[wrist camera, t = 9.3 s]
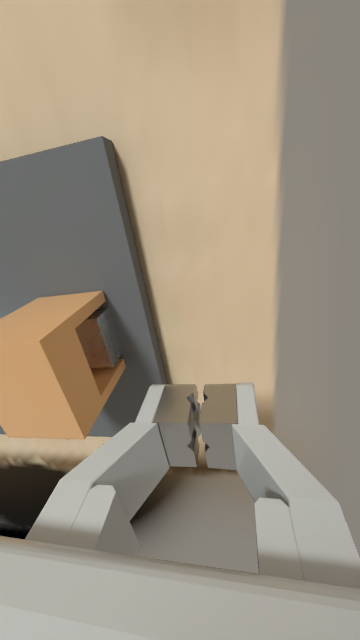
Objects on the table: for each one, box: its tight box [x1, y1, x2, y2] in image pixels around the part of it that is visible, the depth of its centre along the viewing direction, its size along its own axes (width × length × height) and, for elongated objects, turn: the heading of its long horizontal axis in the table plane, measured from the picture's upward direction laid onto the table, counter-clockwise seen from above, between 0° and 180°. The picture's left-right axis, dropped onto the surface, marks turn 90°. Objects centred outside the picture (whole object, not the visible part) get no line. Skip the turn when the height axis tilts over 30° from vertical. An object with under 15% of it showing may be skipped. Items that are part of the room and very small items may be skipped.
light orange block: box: [0, 291, 126, 439], centre depth 12 cm, size 4×5×5 cm
